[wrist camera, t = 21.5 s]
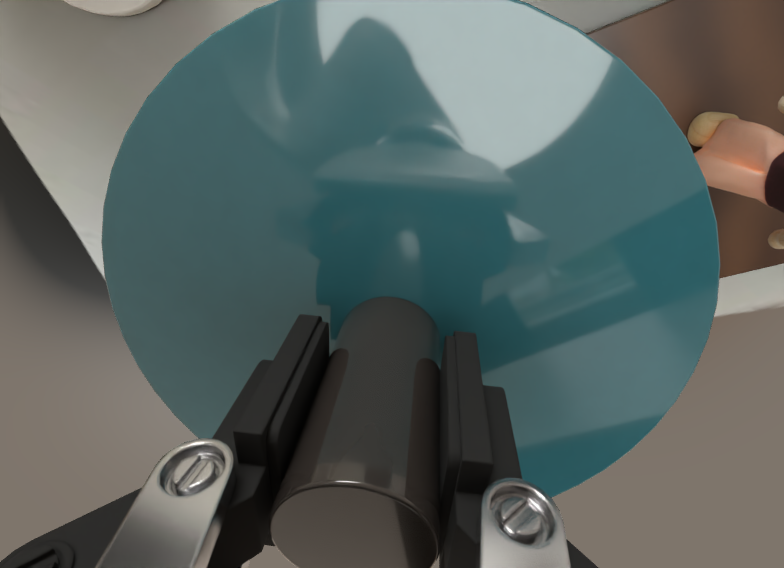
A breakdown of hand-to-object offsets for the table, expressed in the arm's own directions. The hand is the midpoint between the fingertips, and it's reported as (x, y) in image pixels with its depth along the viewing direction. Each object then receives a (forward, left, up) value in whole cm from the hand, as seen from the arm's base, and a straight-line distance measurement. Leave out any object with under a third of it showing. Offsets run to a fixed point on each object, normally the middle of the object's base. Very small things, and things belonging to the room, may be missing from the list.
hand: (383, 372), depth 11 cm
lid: (0, 0, -2) cm, 2 cm away
